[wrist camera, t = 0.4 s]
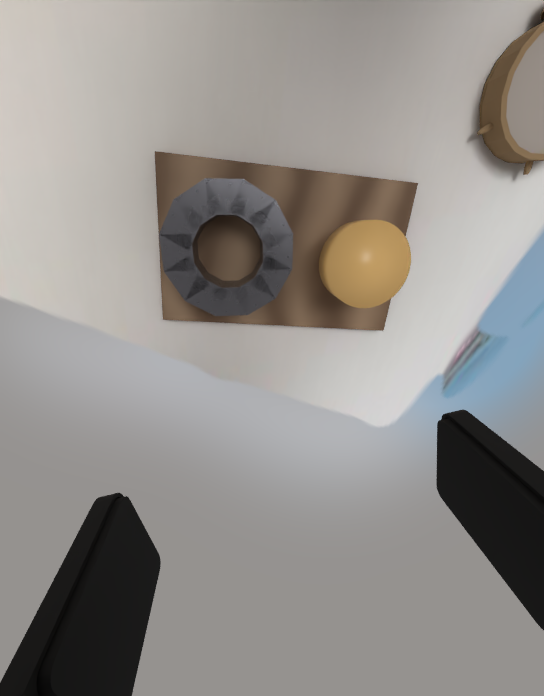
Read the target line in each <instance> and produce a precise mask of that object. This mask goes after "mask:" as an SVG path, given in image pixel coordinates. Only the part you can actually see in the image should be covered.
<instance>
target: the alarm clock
mask: <svg viewBox="0 0 544 696" xmlns="http://www.w3.org/2000/svg"><path fill="white" fill-rule="evenodd" d="M543 19H544V9H543V11H542V13H541V20H543ZM479 109H480V130H479V131H478V132H477V134H478V135H481V134H482V136H483V139H484V142H485V144H486V146H487V147H488V148H489V150H490V151H491V152H492V154H493V155H494V156H496V157H497V158H499V159H501V160H503V161H505V162H507V163H525V162H526V164H525V167H524V173H523V175H526V174H528V173H529V171H530V170H531V168H532V165H533V162H534V161H538V160H544V22H542V23H541V24H539V25H537V26H535V27H533V28H531V29H530V30H528V31H527V32H526V33H524V34H523V35H522V36H520V37H519V38H517V39H516V40H515V41H513V42H512V43H511V44H510V46H509V47H508V48H507V49H506V51H505V52H504V53H503V54H502V55H501V57H500V58H499V59H498V60H497V61H496V63H495V65H494V67H493V69H492V71H491V73H490V75H489V77H488V79H487V81H486V83H485V86H484V89H483V93H482V97H481V101H480V106H479Z"/></svg>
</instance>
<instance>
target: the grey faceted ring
mask: <svg viewBox="0 0 544 696" xmlns="http://www.w3.org/2000/svg"><path fill="white" fill-rule="evenodd" d="M218 216H237V217H239V218H240V219H242V220H243V221H245V222H247V223H248V224H250V225H251V226H252V227H253V229H254V231H255V233H256V235H257V236H258V238H259V240H260V259H259V261H258V263H257V264H256V266H255V268H254V270H253V272H252V273H250V274H248V275H247V276H245V277H244V278H242V279H240V280H232V281H223V280H221V279H219V278H217V277H215V276H213V275H212V274H210V273H208V271H207V270H206V268H205V267H204V265H203V264H202V262H201V261H200V259H199V253H198V242H197V241H198V239H199V236H200V234H201V232H202V230H203V228H204V226H205V225H206V224H207V223H209V222H211V221H212V220H214V219H215V218H217V217H218ZM159 240H160V247H161V255H162V262H163V270H164V273H165V274H166V275H167V277H168V278H169V280H170V281H171V282H172V284H173V285H174V286H175V288H176V289H177V291H178V292H179V293H180V295H181V296H182V298H183V299H184V300H185V301H186V302H188V303H190V304H192V305H194V306H196V307H198V308H200V309H202V310H204V311H206V312H208V313H210V314H212V315H214V316H236V315H249V314H251V313H252V312H254V311H256V310H257V309H259V308H261V307H262V306H264V305H266V304H267V303H269V302H271V301H272V300H274V299H275V298H276V297H277V295H278V294H279V292H280V290H281V288H282V287H283V285H284V283H285V281H286V280H287V278H288V276H289V274H290V273H291V271H292V261H293V232H292V231H291V229H290V227H289V225H288V223H287V221H286V219H285V217H284V215H283V213H282V211H281V209H280V207H279V205H278V203H277V201H276V200H275V199H274V198H272V197H271V196H269V195H267V194H266V193H264V192H263V191H261V190H260V189H258V188H257V187H255V186H254V185H252V184H251V183H249V182H248V181H246V180H245V179H222V178H205V179H203V180H202V181H200V182H199V183H197V184H196V185H194V186H193V187H191V188H190V189H188V190H187V191H185V192H184V193H182V194H181V195H179V196H178V197H176V198H175V199H173V202H172V204H171V207H170V209H169V211H168V214H167V216H166V218H165V221H164V223H163V225H162V228H161V230H160V233H159Z"/></svg>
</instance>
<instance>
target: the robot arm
mask: <svg viewBox="0 0 544 696" xmlns="http://www.w3.org/2000/svg"><path fill="white" fill-rule="evenodd" d="M437 428H438V429H437V490H438V492H439V494H440V496H441V498H442V499H443V501H444V502H445V503H446V505H447V506H448V507H449V509H450V510H451V511H452V512H453V514H454V515H455V517H456V518H457V519H458V520H459V521H460V523H461V524H462V526H463V527H464V528H465V530H466V531H467V532H468V534H469V535H470V536H471V537H472V539H473V540H474V541H475V543H476V544H477V545H478V547H479V548H480V549H481V551H482V552H483V553H484V554H485V556H486V557H487V558H488V560H489V561H490V562H491V564H492V565H493V566H494V567H495V569H496V570H497V572H498V573H499V574H500V575H501V577H502V578H503V579H504V581H505V582H506V583H507V585H508V586H509V587H510V588H511V590H512V591H513V592H514V594H515V595H516V596H517V598H518V599H519V600H520V602H521V603H522V604H523V606H524V607H525V608H526V609H527V611H528V612H529V613H530V615H531V616H532V617H533V619H534V620H535V621H536V623H537V624H538V625H539V626H540V627H541V628H542V629H543V630H544V471H543V470H541V469H540V468H539V467H538V466H536V465H535V464H534V463H533V462H531V461H530V460H529V459H527V458H526V457H525V456H524V455H522V454H521V453H520V452H518V451H517V450H516V449H515V448H513V447H512V446H511V445H510V444H508V443H507V442H506V441H505V440H503V439H502V438H501V437H499V436H498V435H497V434H496V433H494V432H493V431H492V430H491V429H489V428H488V427H487V426H485V425H484V424H483V423H482V422H480V421H479V420H478V419H477V418H475V417H474V416H473V415H472V414H470V413H469V412H468V411H466V410H459V411H455V412H451V413H447V414H443V416H442V419H441V420H440V421H438V425H437ZM159 571H160V556H159V554H158V552H157V550H156V548H155V546H154V544H153V542H152V540H151V538H150V537H149V535H148V533H147V531H146V529H145V527H144V525H143V524H142V522H141V520H140V518H139V516H138V514H137V512H136V510H135V508H134V507H133V505H132V503H131V501H130V500H129V498H128V497H127V496H126V497H124V496H123V495H122V494H120V493H115V494H112V495H107V496H104V497H99V498H97V499H96V501H95V502H94V504H93V505H92V507H91V509H90V511H89V513H88V515H87V517H86V519H85V521H84V523H83V525H82V526H81V528H80V530H79V532H78V534H77V536H76V538H75V540H74V542H73V544H72V546H71V548H70V550H69V552H68V553H67V555H66V558H65V559H64V561H63V563H62V565H61V567H60V569H59V571H58V573H57V575H56V577H55V578H54V581H53V582H52V584H51V586H50V588H49V590H48V592H47V594H46V596H45V598H44V600H43V602H42V603H41V605H40V607H39V610H38V611H37V613H36V615H35V617H34V619H33V621H32V623H31V625H30V627H29V628H28V630H27V632H26V634H25V637H24V638H23V640H22V642H21V644H20V646H19V648H18V650H17V652H16V654H15V655H14V658H13V659H12V661H11V663H10V665H9V667H8V669H7V671H6V673H5V675H4V677H3V679H2V681H1V683H0V696H132V692H133V687H134V682H135V678H136V674H137V669H138V665H139V660H140V656H141V651H142V647H143V642H144V638H145V633H146V629H147V625H148V620H149V616H150V611H151V607H152V602H153V598H154V593H155V589H156V584H157V580H158V575H159Z"/></svg>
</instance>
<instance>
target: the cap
mask: <svg viewBox="0 0 544 696" xmlns="http://www.w3.org/2000/svg"><path fill="white" fill-rule="evenodd" d="M410 264H411V252H410V247H409V243H408V241H407V239H406V237H405V236H404V234H403V233H402V232H401V230H400V229H398V228H397V227H396V226H395V225H393V224H391V223H389V222H387V221H383V220H359V221H352V222H349V223H346V224H344V225H342V226H341V227H339V228H338V229H336V230H335V231H334V232H333V233H332V234H331V235H330V236H329V238H328V239H327V241H326V242H325V244H324V246H323V248H322V251H321V254H320V258H319V273H320V277H321V280H322V282H323V284H324V286H325V287H326V289H327V290H328V291H329V292H330V293H331V294H333V295H334V296H335V297H337V298H338V299H340V300H341V301H342V302H344V303H345V304H347V305H349V306H352V307H356V308H371V307H375V306H378V305H381V304H383V303H385V302H386V301H388V300H389V299H391V298H392V297H393V296H394V295H395V294H396V293H397V292H398V291H399V290H400V288H401V287H402V286H403V284H404V282H405V280H406V278H407V276H408V273H409V269H410Z"/></svg>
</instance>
